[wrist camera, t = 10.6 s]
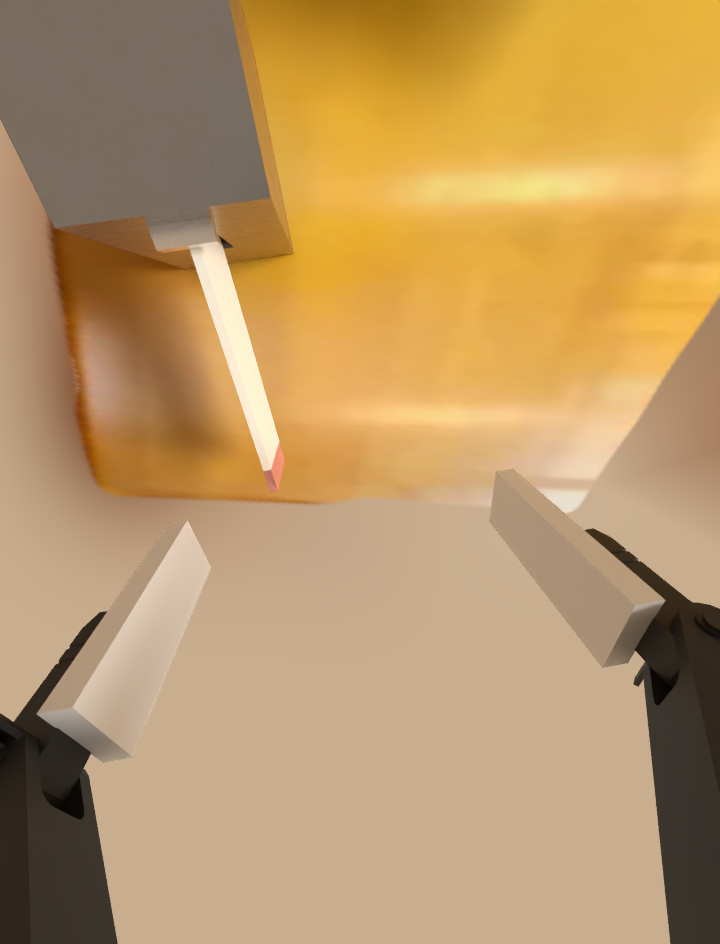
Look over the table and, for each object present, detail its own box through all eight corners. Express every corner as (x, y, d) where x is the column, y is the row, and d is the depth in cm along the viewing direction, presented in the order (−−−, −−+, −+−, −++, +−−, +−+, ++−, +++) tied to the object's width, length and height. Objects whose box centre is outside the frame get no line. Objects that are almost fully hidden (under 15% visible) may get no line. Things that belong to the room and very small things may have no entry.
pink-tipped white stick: (211, 239, 22) (178, 216, 17) (220, 238, 22) (190, 215, 17) (278, 460, 30) (270, 492, 25) (284, 459, 30) (278, 490, 25)
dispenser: (115, 75, 22) (-230, -329, 8) (254, 59, 23) (153, -352, 9) (188, 282, 28) (63, 255, 14) (296, 266, 29) (276, 224, 15)
